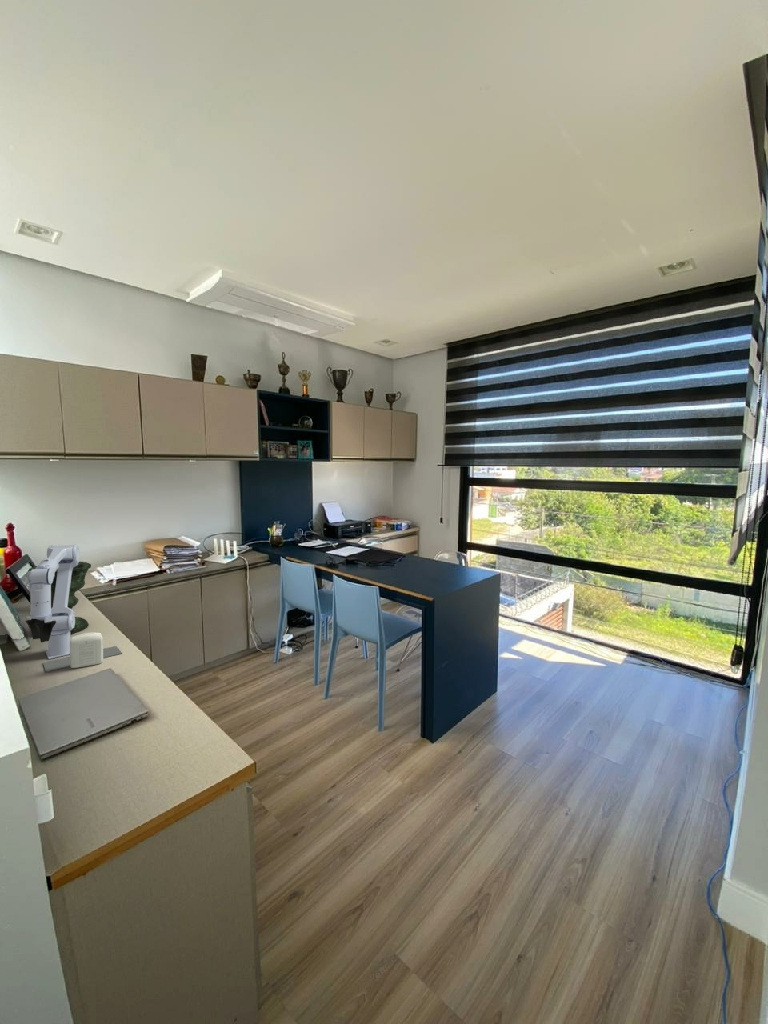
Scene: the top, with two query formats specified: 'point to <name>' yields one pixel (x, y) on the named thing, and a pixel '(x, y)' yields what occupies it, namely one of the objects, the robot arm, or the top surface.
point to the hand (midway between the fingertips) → (40, 640)
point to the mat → (66, 661)
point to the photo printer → (86, 650)
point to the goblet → (73, 591)
